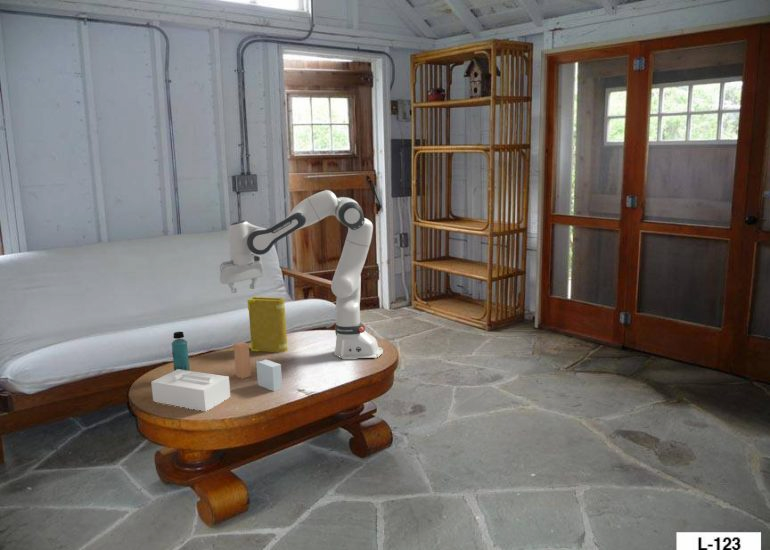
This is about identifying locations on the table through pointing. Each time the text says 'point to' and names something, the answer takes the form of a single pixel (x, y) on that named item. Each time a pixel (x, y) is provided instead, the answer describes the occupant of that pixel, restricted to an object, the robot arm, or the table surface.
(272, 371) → the pale gray chunky brick
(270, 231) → the robot arm
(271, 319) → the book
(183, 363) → the beverage bottle
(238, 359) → the block
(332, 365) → the table surface
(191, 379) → the tissue box
